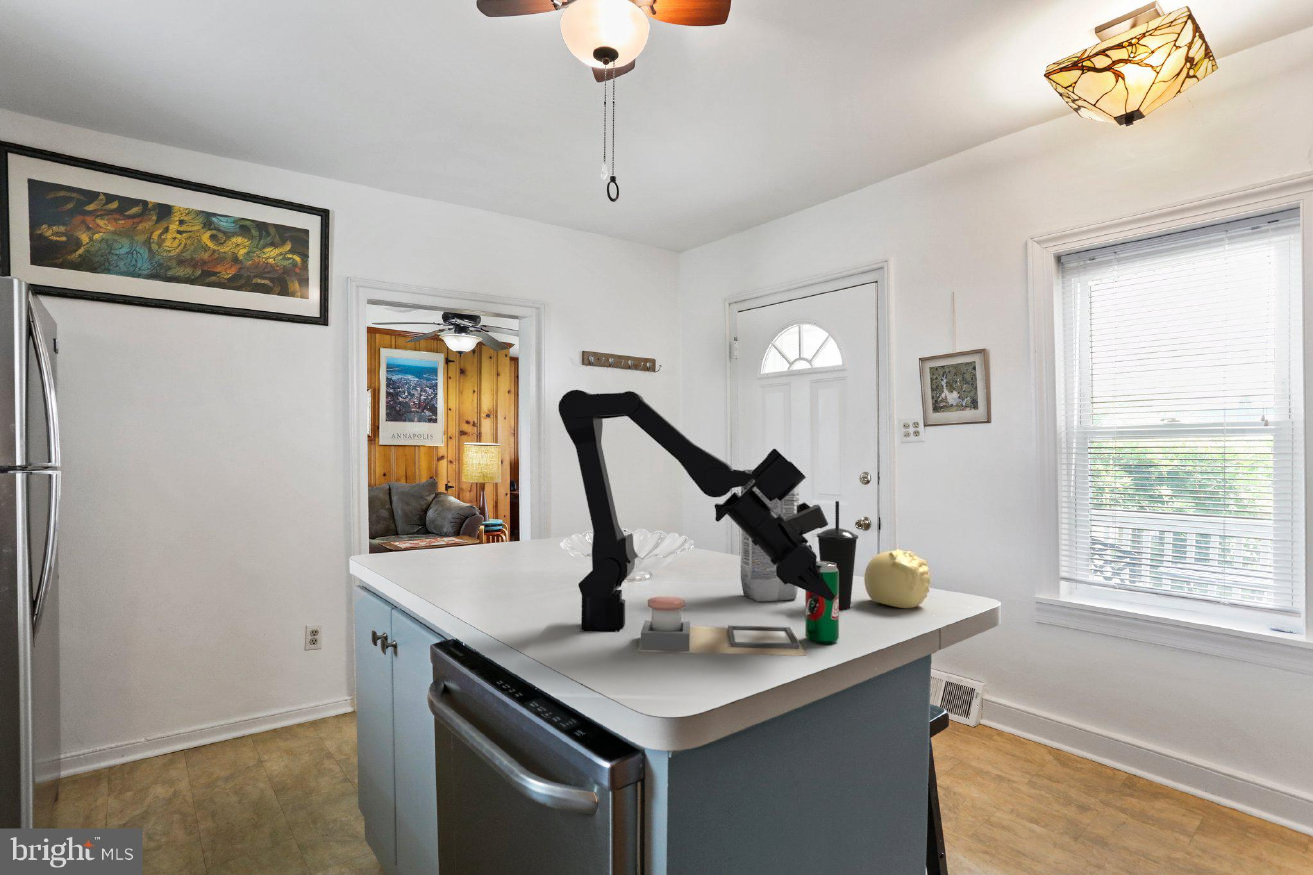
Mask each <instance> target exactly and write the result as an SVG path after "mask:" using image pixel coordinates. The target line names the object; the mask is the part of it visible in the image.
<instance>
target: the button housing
mask: <svg viewBox="0 0 1313 875" xmlns="http://www.w3.org/2000/svg"><path fill="white" fill-rule="evenodd" d="M690 627H691V621H688V620H687V621H682V620H681V631H680V632H670V631H652V620H644V622H643V625H642V628H641V631H640V640H641V650H656V651H689V648H690Z"/></svg>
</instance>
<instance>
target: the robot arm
mask: <svg viewBox="0 0 1313 875" xmlns="http://www.w3.org/2000/svg"><path fill="white" fill-rule="evenodd" d="M558 414H559V416H560V418H561V421H562V424H563V426H564V429H565V430H566V433H567V435H568V436H569V438H570V439H571V442H572V444H573V445H574V448H575V450H576V455H577V460H578V465H579V469H580V475H581V478H582V479H581V480H582V484H583V487H584V488H583V489H584V493H585V498H586V502H587V507H588V510H589V512H588V513H589V515H590V516H589V517H590V520H591V521H590V522H591V526H592V532H593V534H592V544H591V545H592V546H591V563H592V564H591V566H592V568H591V569H592V570H590V572H589V573H588V574H587V575H586V576H584V577H583V579H582V580H581V581H580V582H578V589H579V591H580V594H581V614H580V615H581V619H580V620H581V627H580V628H579V630H578V631H579V632H587V633H588V632H589V633H591V632H593V633H594V632H596V633H619V632H620V631H621V629H623V628H625V625H626V599H624V598H623V590H622V589H619V588H621V587H622V584H623V582H625V580H626V579H627V578H628V577H629V576H630V575H631V573H633V571H634V569H635V566H636V559H637V558H638V557H639V555H638V553H637V551H636V550H635V546H634V535H633V533H629V534H627V535H625V534H624V532H623V530H622V529H621V526H620V524H619V521H618V516H617V512H616V506H615V501H614V496H613V492H612V487H611V483H610V478H609V473H608V469H607V463H606V459H605V455H604V449H603V446H602V437H603V436H602V435H603V427H604V426H603V421H604V419H605V420H606V419H616V418H624V417H627V418H629V419H630V420H631V421H632V422H633V423H634V424H635V425H637V426H638V427H639V428H640V429H641V430H642V431H644V432H645V433H646V434H647V435H648V436H649V437H650V438H651V439H653V440H654V441H655V442H656V443H657V444H658V445H660V446H661V447H662V448H663V449H664V450H665V451H666V452H668V453H669V454H670V455H671V456H672V457H673V458H674V459H676V460H677V461H678V463H679V464H680V465H681V466H682V467H683V469H684V470H685V472H686V473H687V474H688V476H689V477H690V478H691V480H692V481H693V482H694V484H696V486H697V487H698V488H699V489H700V491H701V492H702V493H703V494H704V495H706V496H707V497H710V498H721V497H724V496H726V495H728V494H729V493H730V492H731V490H732V489H735V488H741V486H745V485H746V484H747V483H748V482H749V481H750V480H751V479H754V480H755V482H754V483H753V484H752V485H751V486H750V487H749V488H748V489H747V490H746V491H745V492H743V493H742V494H741V493H740V494H739V493H737V492H735V491H734V492H733V493H732V494H731V495H730V496H728V498H726V500H724V501H723V503H715V504H714V510H715V517H714V518H715V522H719V523H720V521H722V519H723V518H725V516H728V517H729V518H730V519H731V520H732V521H733V522H734V523H735V524H736V525H737V527H739V528H740V530H741V529H742V530H743V531H744V532H745V533H746V534H747V535H748V537H749V538H750V539H751V542H752V543H753V544H754V545H755V546H756V545H757V546H758V547H759V548H760V549H761V550H762V551H763V552H764V553H765V554H766V555H767V556H768V557H769V558H770V561H771V562H772V563H773V564H774V565H776V576H777V577H778V578H779V579H780V580H781V581H782V582H783V583H784V584H785V585H786V584H792V585H794V586H797V587H798V589H802V590H804V591H805V590H806V591H808V592H811V593H813V594H815V595H818V596H820V597H822V598H824V599H827V600H829V601H832V600H833V599H834V598H835V595H834V593H833V592H832V590H831V589H830V587H829V586H828V584H827V583H826V582H825V580H824V579H823V577H822V576H821V574H820V573H819V571H818V570H817V568H816V561H817V559H818V557H817V556H818V555H817V554H816V552H814V550H813V547H812V545H811V544H808V543H809V540H808V538H806V536H804V535H806V534H808V533H810V532H813V531H815V530H818V529H824V528H826V527H827V526H829V523H828V522H829V521H828V520H827V518H826V516H825V514H824V512H823V509H822V507H821V505H820V504H813V505H812V506H810V505H809V504H808V503H807V502H805V501H804V502H801V503H799V505H797V511H796V514H793V515H792V516H790V517H787V518H784V517H783V516H782V515H781V514H777V513H775V512H774V511H773V510H772V509H771V508H770V507H769V506H768V505H767V504H766V503H765V502H764V501H763V500H762V498H761V497H760V496H759V495H758V494H757V493H756V492H755V491H754V490H753V488H754V487H756V488H757V489H758V490H759V491H760V492H761V493H762V494H763V495H764V496H765V497H766V498H767V499H768V500H769V501H770V502H772V501H773V500H775V499H776V498H777V499H778V500H779V501H780V502H781V501H782V500H783V499H784V498H785V497H786V496H787V495H788V494H789V493H791V492H792V491H793V490H794V489H795V488H796V487H797V486H798V485H799V486H800V484H801V483H802V482H803V481H804V480H805V479H806V478H807V477H806V476H805V474H804V473H803V472H802V471H801V470H800V469H799V468H798V467H797V466H796V465H795V464H794V463H793V462H792V461H790V460H788V459H787V458H786V457H785V456H784V455H783V454H782V453H780V451H778V449H777V448H772V449H771V451H770V452H769V453H768V454H767V455H766V457H765V458H764V459H763V460H762V461H761V462H760V463H758V464H759V465H757V466H756V467H754V469H752V470H753V471H752V472H748V471H747V470H748V469H744V470H745V471H743V470H740V469H733V467H732V466H731V465H730V464H729V463H727V462H726V461H724V460H723V459H721V458H719V457H718V456H716V455H714V454H712V453H711V452H708V451H707V450H705V449H703V448H702V447H700V446H698V445H697V444H696V443H694V442H693V441H691V440H690V439H689V438H688V437H687V436H686V435H685V434H684V433H683V432H681V431H680V430H679V429H678V428H676V427H675V426H674V425H673V424H672V423H671V422H669V420H667V419H666V418H665V417H664V416H662V415H661V413H659V412H658V411H657V410H655V409H654V407H653V406H651V405H650V404H649V403H647V401H645V399H644V397H643V396H642V395H641V394H639V393H637V392H635V391H630V390H628V391H623V392H615V393H614V392H613V393H611V392H610V393H590V392H586V391H584V390H580V389H571V390H569V391H566V393H564V395H562V397H561V398H560V399H559V401H558Z"/></svg>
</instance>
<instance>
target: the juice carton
mask: <svg viewBox="0 0 1313 875" xmlns="http://www.w3.org/2000/svg"><path fill="white" fill-rule="evenodd" d="M759 464H760V463H758V465H759ZM758 465H757V466H758ZM746 470H747V471H748V472H752V471H753V470H754V469H746ZM742 471H745V469H742ZM754 482H755V480H754V479H751V480H750V481H749V482H748V483H747V484H746V485H745V486H741V487H740V495H741V494H742V493H743V492H745V491H746V490H747V489H748V488H749V487H750V486H751V485H752V484H753V483H754ZM799 486H800V484H799V485H798V486H797V487H796V488H795V489H794V490H793V491H792V492H791V493H789V494H788V495H787V496H786V497H785V498H784V499H783V500H782V501H781V502H780V501H779V500H778V499H777V498H776V499H775V500H773V501H772V502H770V501H769V500H768V499H767V498H766V497H765V496H764V495H763V494H762V493H761V492H760V491H759V490H758V489H757V488H756V487H754V488H753V490H754V491H755V492H756V493H757V494H758V495H759V496H760V497H761V498H762V500H763V501H764V502H765V503H766V504H767V505H768V506H769V507H770V508H771V509H772V510H773V511H774V512H775V513H777V514H781V515H782V516H783V517H784V518H787V517H790V516H792V515H793V514H796V511H797V505H799V504H800V489H799V488H800V487H799ZM740 583H741V588H742V593H743V595H744V596H745V597H748V598H750V599H752V600H754V601H756V602H758V603H760V602H761V603H762V602H765V603H766V602H776V601H777V602H779V601H793V600H796V599H797V595H798V591H799V590H798V589H799V587H797V586H794V585H792V584H786V585H785V584H784V583H783V582H782V581H781V580H780V579H779V578H778V577H777V576H776V565H774V564H773V563H772V562H771V561H770V558H769V557H768V556H767V555H766V554H765V553H764V552H763V551H762V550H761V549H760V548H759V547H758V546H757V545H756V546H755V545H754V544H753V543H752V542H751V539H750V538H749V537H748V535H747V534H746V533H745V532H744V531H743V530H742V529H741V528H740Z"/></svg>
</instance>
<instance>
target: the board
mask: <svg viewBox="0 0 1313 875" xmlns="http://www.w3.org/2000/svg"><path fill="white" fill-rule="evenodd" d="M636 652H647V653H648V652H650V653H652V652H653V653H678V654H679V653H682V654H683V653H687V654H720V655H721V654H722V655H723V654H726V655H759V656H760V655H761V656H764V655H765V656H767V655H768V656H793V657H794V656H799V657H806V656H807V654H806V653H805V651H804V648H803V646H802V645H801V643H800V641H799V639H798V637H797V635H796V632H795V631H794V629H793V628H791V627H790V626H771V625H770V626H761V625H760V626H759V625H758V626H757V625H727V627H726V626H725V627H721V626H720V627H715V626H690V648H689V651H656V650H641V639H640V640H639V644H638V646H637V650H636Z"/></svg>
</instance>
